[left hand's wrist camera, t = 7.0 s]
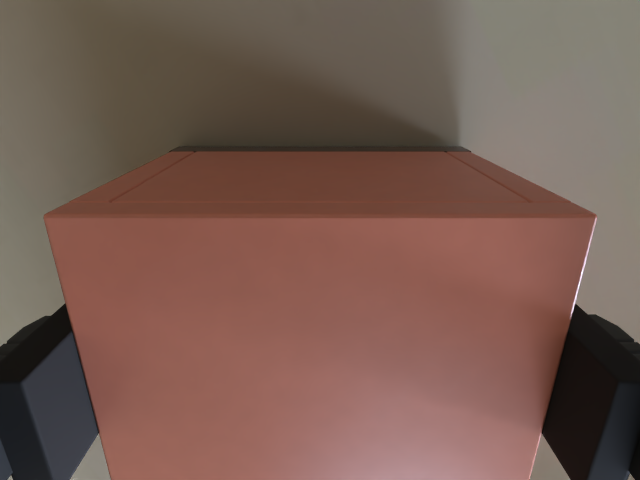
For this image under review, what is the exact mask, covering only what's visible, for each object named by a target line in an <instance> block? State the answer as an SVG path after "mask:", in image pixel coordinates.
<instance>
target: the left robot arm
mask: <svg viewBox="0 0 640 480" xmlns="http://www.w3.org/2000/svg"><path fill="white" fill-rule="evenodd" d="M98 433H99V431H98V427H97V423H96V419H95V415H94V412H93V408H92V404H91V400H90V396H89V392H88V388H87V384H86V380H85V377H84V373H83V369H82V365H81V361H80V357H79V353H78V349H77V346H76V342H75V338H74V334H73V330H72V326H71V322H70V318H69V315H68V311H67V307H66V303H65V304H64V305H63V306H62V307H61V308H60V309H58V310H57V311H56V312H55V313H54V314H53V315H52V316H44V317H42V318H40V319H39V320H37V321H35V322H33V323H31V324H29V325H27V326H25V327H23V328H22V329H21V330H20V331H19V332H17V333H16V334H15V335H14V336H13V337H11V338H10V339H9V340H8V341H7V344H3V345H2V346H1V347H0V480H7V479H8V478H9V477H10V475H12V478H13V480H70V478H71V477H72V475H73V473H74V472H75V470H76V469H77V467H78V465H79V464H80V462H81V461H82V459H83V457H84V456H85V454H86V453H87V451H88V449H89V448H90V446H91V445H92V443H93V441H94V440H95V438H96V437H97V435H98ZM542 434H543V436H544V437H545V439H546V441H547V442H548V444H549V445H550V447H551V449H552V450H553V452H554V453H555V455H556V457H557V458H558V460H559V461H560V463H561V465H562V466H563V468H564V469H565V471H566V473H567V474H568V476H569V477H570V479H571V480H627V479H628V477H629V474H631V475H632V476H633V478H634V479H635V480H640V344H639V343H637V342H634V339H633V338H631V337H630V336H629V335H628V334H627V333H625V332H624V331H623V330H622V329H621V328H619V327H618V326H617V325H615V324H613V323H611V322H609V321H607V320H605V319H603V318H601V317H599V316H597V315H588V314H587V313H585V312H584V311H583V310H582V309H581V308H580V307H579V306H578V305H576V304H575V306H574V309H573V313H572V317H571V321H570V325H569V329H568V333H567V337H566V340H565V344H564V348H563V352H562V356H561V360H560V364H559V367H558V371H557V375H556V379H555V383H554V387H553V391H552V394H551V398H550V402H549V406H548V410H547V414H546V418H545V422H544V425H543V429H542Z"/></svg>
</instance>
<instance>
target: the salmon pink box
mask: <svg viewBox="0 0 640 480" xmlns="http://www.w3.org/2000/svg"><path fill="white" fill-rule="evenodd" d="M44 221H45V225H46V229H47V233H48V237H49V241H50V245H51V249H52V252H53V256H54V260H55V264H56V268H57V272H58V276H59V280H60V284H61V287H62V291H63V295H64V299H65V303H66V307H67V311H68V315H69V318H70V322H71V326H72V330H73V334H74V338H75V342H76V346H77V349H78V353H79V357H80V361H81V365H82V369H83V373H84V377H85V380H86V384H87V388H88V392H89V396H90V400H91V404H92V408H93V412H94V415H95V419H96V423H97V427H98V431H99V435H100V439H101V443H102V446H103V450H104V454H105V458H106V462H107V466H108V470H109V474H110V477H111V480H530V476H531V472H532V468H533V464H534V460H535V456H536V452H537V449H538V445H539V441H540V437H541V433H542V429H543V425H544V422H545V418H546V414H547V410H548V406H549V402H550V398H551V394H552V391H553V387H554V383H555V379H556V375H557V371H558V367H559V364H560V360H561V356H562V352H563V348H564V344H565V340H566V337H567V333H568V329H569V325H570V321H571V317H572V313H573V309H574V306H575V302H576V298H577V294H578V290H579V286H580V282H581V279H582V275H583V271H584V267H585V263H586V259H587V255H588V251H589V248H590V244H591V240H592V236H593V232H594V228H595V224H596V221H597V215H596V214H594V213H592V212H590V211H588V210H586V209H584V208H582V207H580V206H578V205H576V204H574V203H571V201H569V200H567V199H565V198H562V197H560V196H558V195H556V194H554V193H552V192H550V191H548V190H546V189H544V188H542V187H540V186H538V185H536V184H534V183H532V182H530V181H528V180H526V179H524V178H522V177H520V176H518V175H516V174H514V173H512V172H510V171H508V170H506V169H504V168H501V167H499V166H497V165H495V164H493V163H491V162H489V161H487V160H485V159H483V158H481V157H479V156H477V155H475V154H473V153H471V151H469V150H467V149H465V148H463V147H177V148H175V149H173V150H171V151H169V153H167V154H165V155H163V156H161V157H159V158H157V159H155V160H153V161H151V162H149V163H147V164H145V165H143V166H141V167H139V168H137V169H135V170H133V171H131V172H129V173H127V174H125V175H123V176H120V177H118V178H116V179H114V180H112V181H110V182H108V183H106V184H104V185H102V186H100V187H98V188H96V189H94V190H92V191H90V192H88V193H86V194H84V195H82V196H80V197H78V198H76V199H74V200H72V201H70V202H69V203H67V204H64V205H62V206H60V207H58V208H56V209H54V210H52V211H50V212H48V213H46V214H45V215H44Z"/></svg>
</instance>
